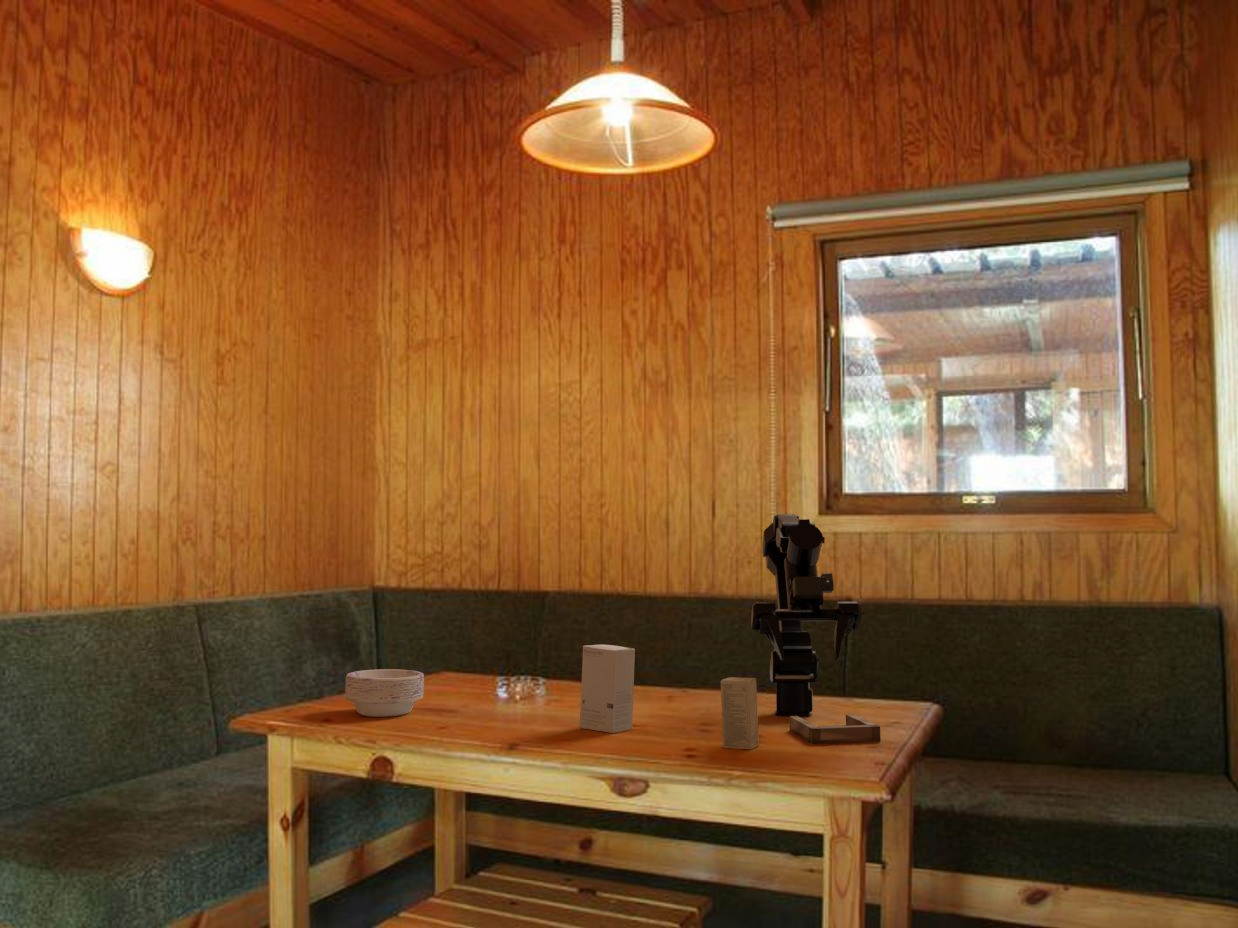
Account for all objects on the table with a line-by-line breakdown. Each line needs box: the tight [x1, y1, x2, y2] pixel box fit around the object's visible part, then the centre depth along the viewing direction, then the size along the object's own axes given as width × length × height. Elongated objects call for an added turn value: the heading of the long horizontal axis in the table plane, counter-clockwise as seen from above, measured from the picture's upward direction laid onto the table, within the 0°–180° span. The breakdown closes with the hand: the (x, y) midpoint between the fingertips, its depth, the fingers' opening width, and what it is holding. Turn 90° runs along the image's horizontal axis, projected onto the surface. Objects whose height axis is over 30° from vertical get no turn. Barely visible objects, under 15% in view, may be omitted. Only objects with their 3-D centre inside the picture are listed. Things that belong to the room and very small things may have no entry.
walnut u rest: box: [788, 713, 882, 745], centre depth 181 cm, size 12×12×2 cm
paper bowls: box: [344, 668, 425, 718], centre depth 206 cm, size 15×15×8 cm
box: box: [720, 676, 760, 750], centre depth 172 cm, size 5×4×11 cm
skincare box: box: [579, 644, 636, 734], centre depth 189 cm, size 8×6×15 cm
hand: (809, 659), depth 178 cm, fingers open, 9 cm apart
